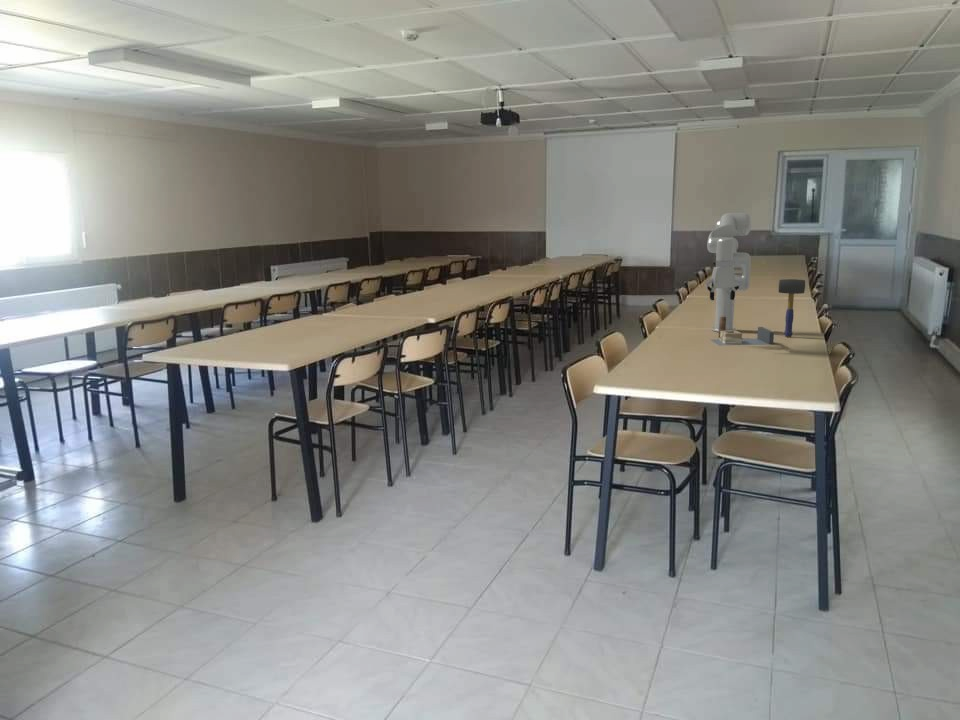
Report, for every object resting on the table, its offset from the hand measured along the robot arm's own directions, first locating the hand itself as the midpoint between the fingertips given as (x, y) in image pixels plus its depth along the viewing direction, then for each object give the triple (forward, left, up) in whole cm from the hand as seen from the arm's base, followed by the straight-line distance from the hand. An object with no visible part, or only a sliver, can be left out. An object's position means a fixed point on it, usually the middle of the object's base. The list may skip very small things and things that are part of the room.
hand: (722, 299), depth 341 cm
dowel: (-15, +6, -23) cm, 28 cm away
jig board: (-2, +11, -23) cm, 25 cm away
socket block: (-2, +6, -21) cm, 22 cm away
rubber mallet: (-20, +42, -23) cm, 52 cm away
